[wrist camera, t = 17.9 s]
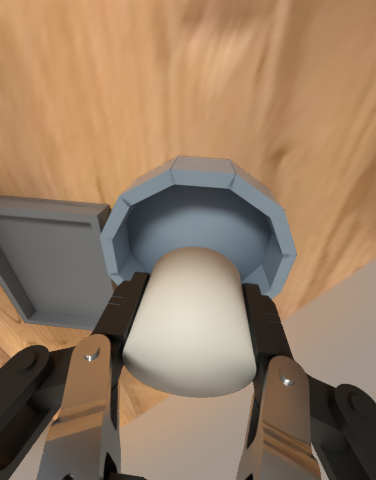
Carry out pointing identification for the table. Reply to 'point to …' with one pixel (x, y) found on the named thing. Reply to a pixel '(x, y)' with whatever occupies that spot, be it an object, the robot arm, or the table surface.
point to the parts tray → (54, 261)
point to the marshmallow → (192, 327)
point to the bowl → (200, 222)
